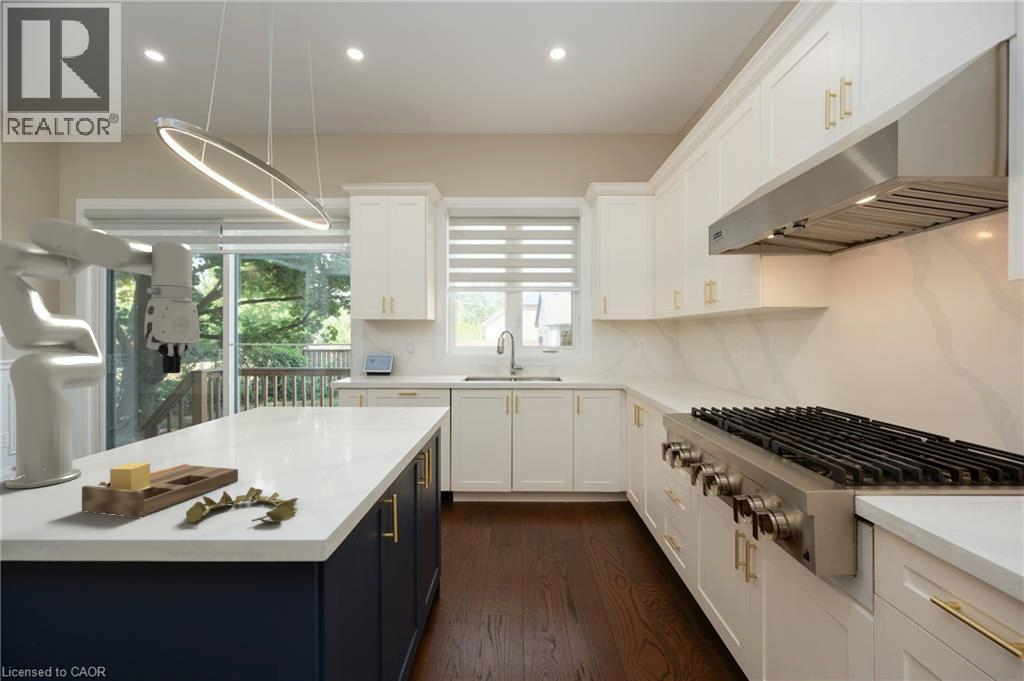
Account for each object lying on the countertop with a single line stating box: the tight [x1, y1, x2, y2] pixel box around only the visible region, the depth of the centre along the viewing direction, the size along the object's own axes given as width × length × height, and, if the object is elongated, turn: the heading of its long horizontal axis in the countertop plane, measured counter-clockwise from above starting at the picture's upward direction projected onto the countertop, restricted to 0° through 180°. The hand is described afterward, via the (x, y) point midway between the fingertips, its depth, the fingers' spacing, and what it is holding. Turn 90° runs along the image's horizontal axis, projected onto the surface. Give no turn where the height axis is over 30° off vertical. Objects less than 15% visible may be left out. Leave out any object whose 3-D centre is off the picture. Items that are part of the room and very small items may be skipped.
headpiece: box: [185, 486, 299, 524], centre depth 88 cm, size 21×4×15 cm
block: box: [109, 462, 151, 491], centre depth 92 cm, size 4×4×5 cm
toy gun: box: [99, 463, 190, 487], centre depth 109 cm, size 15×2×10 cm
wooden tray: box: [81, 464, 239, 519], centre depth 97 cm, size 15×23×5 cm, turn 167°
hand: (171, 372), depth 102 cm, fingers closed
